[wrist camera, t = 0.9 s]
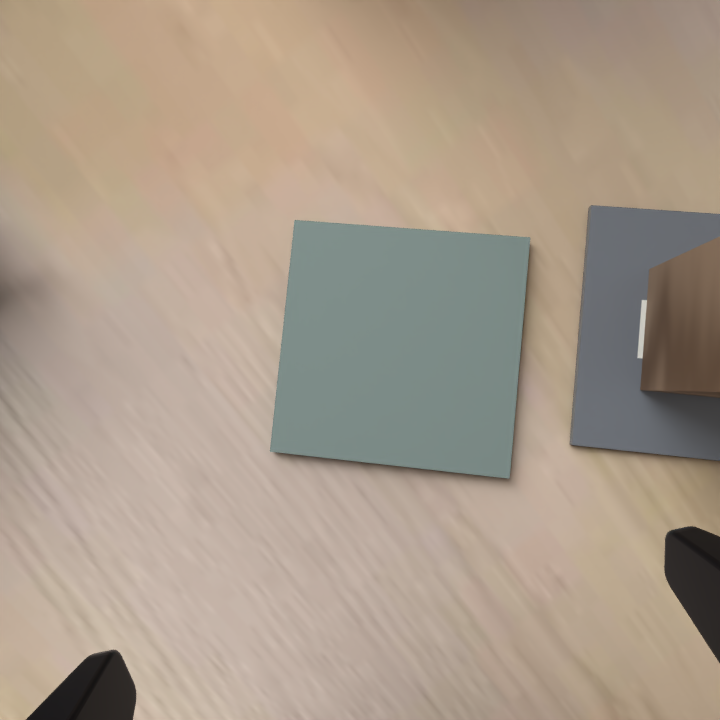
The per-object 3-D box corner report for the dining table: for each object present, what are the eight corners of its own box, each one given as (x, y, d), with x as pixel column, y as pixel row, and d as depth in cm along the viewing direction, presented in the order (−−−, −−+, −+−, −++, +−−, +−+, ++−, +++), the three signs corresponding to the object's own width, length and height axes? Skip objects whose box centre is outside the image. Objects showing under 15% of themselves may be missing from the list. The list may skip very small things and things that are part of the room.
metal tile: (826, 471, 20) (833, 472, 20) (569, 444, 21) (572, 445, 21) (841, 225, 20) (848, 222, 20) (588, 207, 21) (591, 205, 21)
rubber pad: (507, 476, 21) (509, 478, 20) (272, 450, 22) (269, 451, 21) (527, 240, 21) (530, 237, 21) (296, 223, 22) (294, 219, 22)
